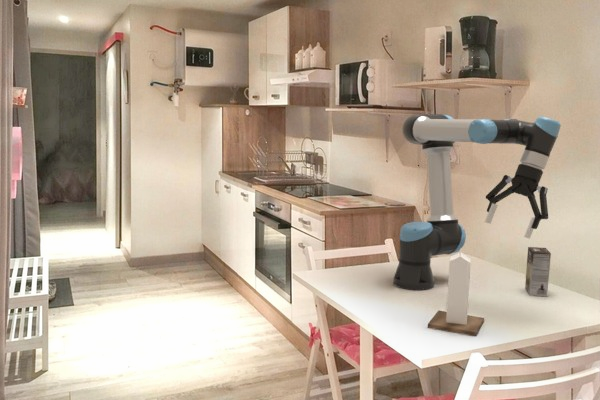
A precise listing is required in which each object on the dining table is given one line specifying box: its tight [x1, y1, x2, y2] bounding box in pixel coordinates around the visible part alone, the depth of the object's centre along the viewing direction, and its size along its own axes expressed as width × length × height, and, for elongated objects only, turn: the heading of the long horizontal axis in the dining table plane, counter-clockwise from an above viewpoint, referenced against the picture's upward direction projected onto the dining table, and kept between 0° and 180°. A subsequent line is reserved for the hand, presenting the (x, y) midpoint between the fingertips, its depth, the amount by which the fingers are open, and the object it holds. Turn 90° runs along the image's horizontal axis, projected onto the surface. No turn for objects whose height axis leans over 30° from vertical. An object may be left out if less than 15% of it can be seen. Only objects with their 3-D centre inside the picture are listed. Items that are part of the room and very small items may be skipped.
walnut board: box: [427, 310, 485, 337], centre depth 168 cm, size 14×14×1 cm
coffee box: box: [524, 246, 552, 298], centre depth 202 cm, size 9×6×16 cm
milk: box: [446, 250, 472, 325], centre depth 167 cm, size 6×6×22 cm
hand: (506, 230), depth 176 cm, fingers open, 13 cm apart
